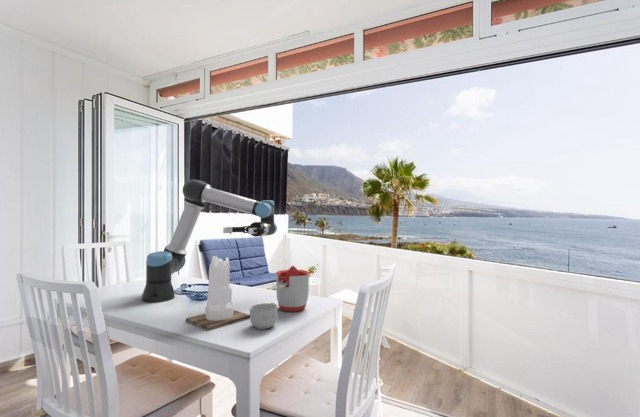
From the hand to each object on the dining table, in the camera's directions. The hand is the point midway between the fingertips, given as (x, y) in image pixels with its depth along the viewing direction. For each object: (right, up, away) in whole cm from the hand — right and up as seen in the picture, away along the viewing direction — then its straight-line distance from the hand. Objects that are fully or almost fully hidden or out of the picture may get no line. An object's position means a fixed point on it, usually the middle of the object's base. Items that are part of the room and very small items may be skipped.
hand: (236, 230), depth 155 cm
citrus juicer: (+26, -37, -1) cm, 45 cm away
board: (-3, -36, -18) cm, 40 cm away
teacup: (+18, -36, -24) cm, 47 cm away
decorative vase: (-3, -35, -18) cm, 39 cm away
